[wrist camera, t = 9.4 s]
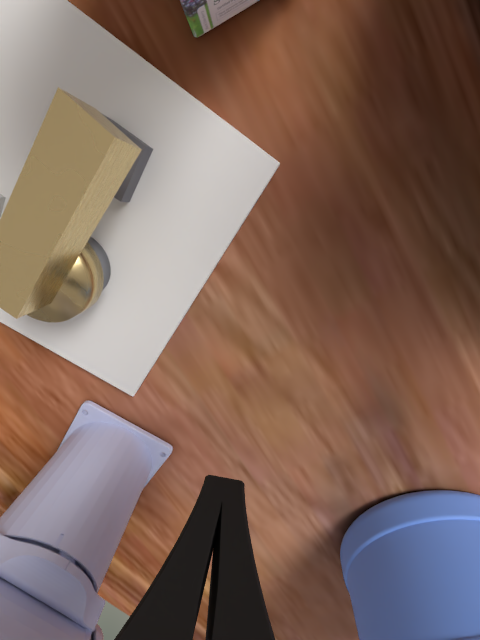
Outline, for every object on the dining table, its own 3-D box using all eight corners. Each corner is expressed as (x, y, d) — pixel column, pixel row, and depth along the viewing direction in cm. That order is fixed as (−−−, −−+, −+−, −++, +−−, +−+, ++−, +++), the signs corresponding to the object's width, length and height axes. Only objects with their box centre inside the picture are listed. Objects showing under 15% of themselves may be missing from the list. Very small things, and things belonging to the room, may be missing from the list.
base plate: (137, 390, 21) (123, 410, 19) (-100, 255, 19) (-146, 261, 17) (279, 165, 15) (281, 158, 13) (-54, -89, 12) (-121, -151, 10)
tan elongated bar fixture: (2, 274, 16) (-71, 293, 12) (88, 95, 12) (19, 52, 9) (78, 328, 17) (30, 360, 13) (179, 177, 13) (148, 167, 10)
